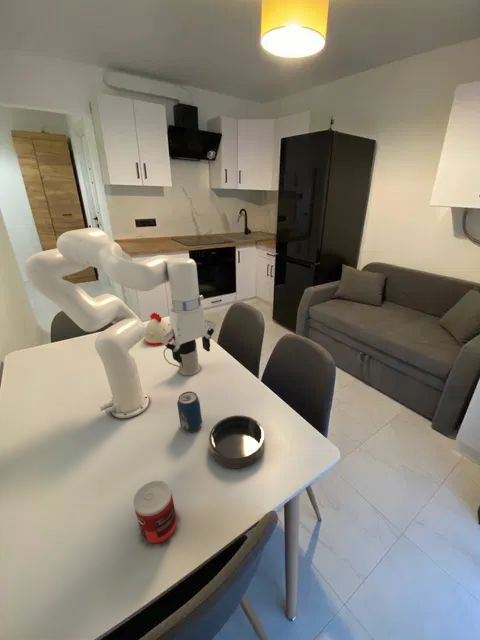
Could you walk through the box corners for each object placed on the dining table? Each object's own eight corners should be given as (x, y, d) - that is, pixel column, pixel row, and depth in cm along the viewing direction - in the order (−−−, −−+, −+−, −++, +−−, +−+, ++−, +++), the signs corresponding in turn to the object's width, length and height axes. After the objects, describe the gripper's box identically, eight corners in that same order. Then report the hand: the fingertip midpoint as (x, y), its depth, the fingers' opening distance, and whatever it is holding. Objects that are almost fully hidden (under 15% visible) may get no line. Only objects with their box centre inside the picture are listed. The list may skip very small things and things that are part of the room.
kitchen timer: (157, 348, 142) (152, 321, 136) (139, 341, 149) (134, 314, 143) (178, 337, 153) (175, 311, 146) (161, 330, 160) (157, 305, 153)
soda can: (202, 416, 100) (199, 389, 95) (202, 432, 94) (198, 403, 89) (181, 419, 99) (177, 391, 94) (180, 435, 93) (175, 406, 88)
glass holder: (203, 370, 125) (200, 340, 119) (170, 382, 118) (165, 350, 111) (195, 361, 132) (191, 332, 125) (164, 372, 124) (158, 341, 118)
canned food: (147, 511, 71) (139, 481, 67) (180, 508, 72) (174, 478, 67) (137, 546, 64) (127, 515, 60) (174, 543, 65) (167, 512, 60)
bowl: (227, 480, 79) (226, 468, 77) (201, 441, 91) (200, 430, 89) (274, 450, 88) (274, 439, 86) (245, 418, 100) (244, 408, 98)
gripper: (206, 292, 89) (210, 341, 96) (150, 306, 79) (160, 360, 86) (219, 299, 84) (223, 350, 91) (162, 315, 73) (171, 371, 81)
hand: (192, 355), depth 88 cm, fingers open, 9 cm apart
